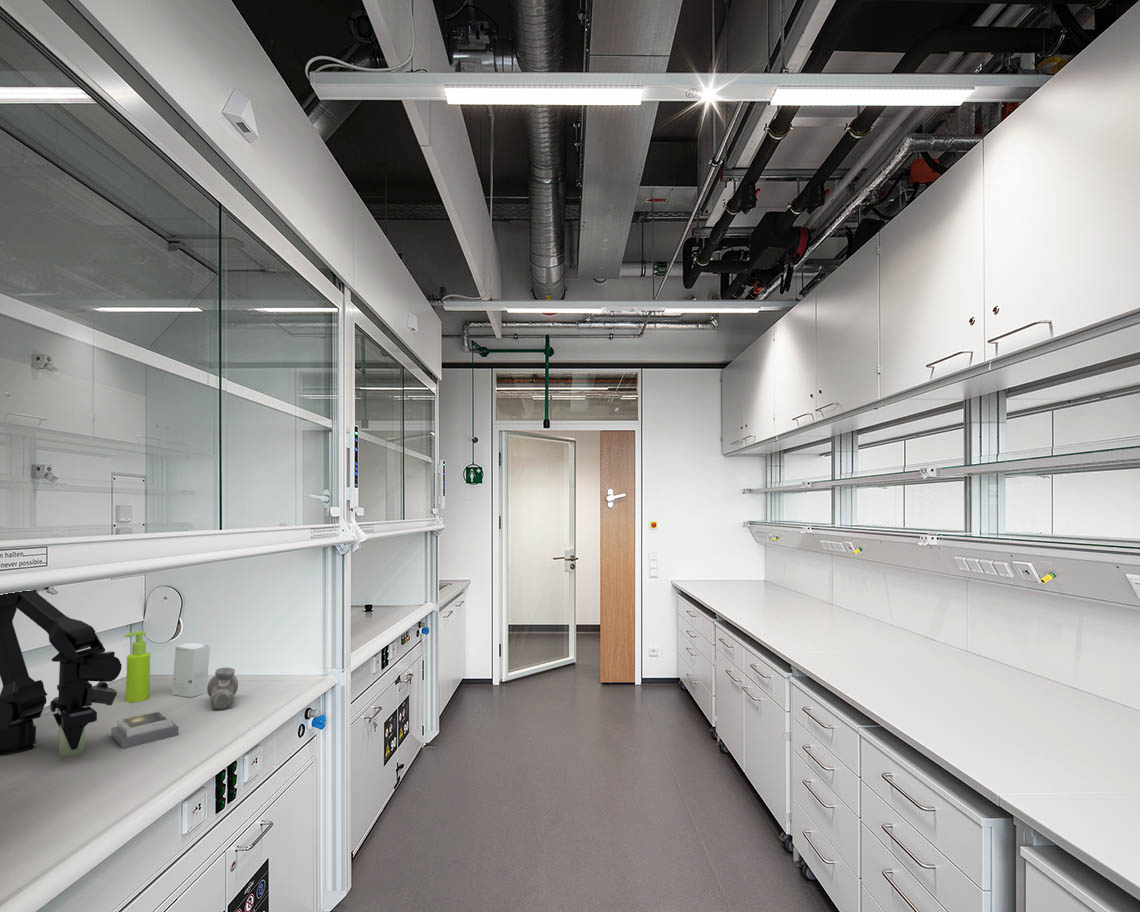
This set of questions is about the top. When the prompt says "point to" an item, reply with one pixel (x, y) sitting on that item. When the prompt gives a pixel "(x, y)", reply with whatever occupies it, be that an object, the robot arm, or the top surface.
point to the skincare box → (190, 669)
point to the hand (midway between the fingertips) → (71, 746)
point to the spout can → (65, 748)
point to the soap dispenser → (138, 670)
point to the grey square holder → (143, 729)
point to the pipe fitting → (222, 688)
